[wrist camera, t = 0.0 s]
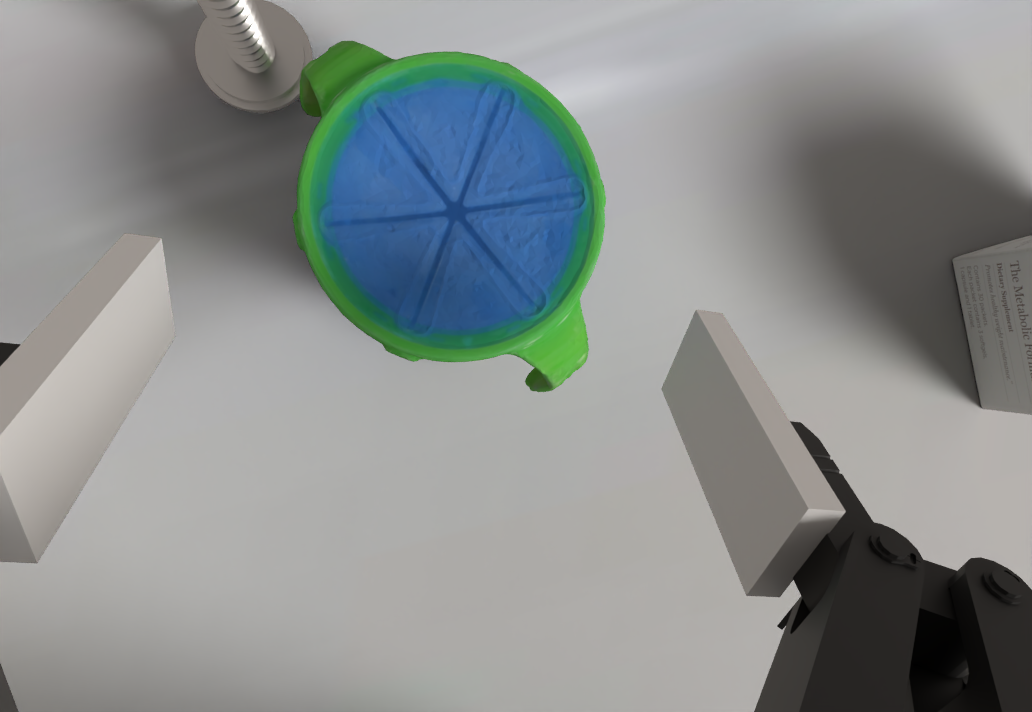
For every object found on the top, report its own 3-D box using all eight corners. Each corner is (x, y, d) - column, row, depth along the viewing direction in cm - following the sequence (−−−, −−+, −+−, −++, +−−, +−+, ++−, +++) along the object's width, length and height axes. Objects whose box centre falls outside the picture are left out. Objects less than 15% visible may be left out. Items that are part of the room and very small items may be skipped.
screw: (300, 12, 30) (331, 113, 30) (195, 34, 29) (228, 137, 29) (222, -237, 17) (278, -57, 17) (30, -212, 16) (93, -22, 16)
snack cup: (607, 325, 33) (697, 318, 23) (436, 439, 31) (452, 485, 21) (443, 58, 31) (463, -78, 21) (253, 165, 29) (177, 75, 19)
